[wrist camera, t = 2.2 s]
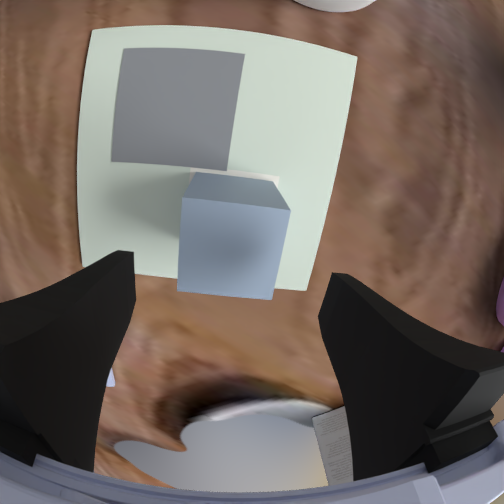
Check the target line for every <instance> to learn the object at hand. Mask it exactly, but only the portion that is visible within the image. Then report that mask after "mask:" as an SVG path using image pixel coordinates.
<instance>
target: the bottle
mask: <svg viewBox="0 0 504 504" xmlns="http://www.w3.org/2000/svg"><path fill="white" fill-rule="evenodd" d="M294 1H296V2H298V3H300V4H302V5H305V6H308V7H311V8H314V9H317V10H322V11H328V12H349V11H355V10H358V9H361V8H364V7H366V6H367V5H369V4H371V3H372V2H374V1H376V0H294Z"/></svg>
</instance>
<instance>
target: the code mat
mask: <svg viewBox="0 0 504 504" xmlns="http://www.w3.org/2000/svg"><path fill="white" fill-rule="evenodd" d="M356 63H357V57H356V56H353V55H349V54H346V53H343V52H340V51H336V50H333V49H329V48H326V47H322V46H318V45H315V44H311V43H306V42H302V41H298V40H293V39H289V38H284V37H279V36H273V35H268V34H262V33H256V32H249V31H242V30H234V29H224V28H214V27H200V26H175V25H153V26H128V27H115V28H104V29H96V30H92V35H91V40H90V44H89V50H88V55H87V61H86V67H85V73H84V80H83V88H82V96H81V105H80V116H79V130H78V151H77V200H78V221H79V235H80V246H81V256H82V265H83V267H87V266H89V265H91V264H93V263H94V262H96V261H98V260H100V259H101V258H103V257H105V256H107V255H108V254H110V253H112V252H114V251H117V250H123V251H131V252H134V270H135V274H143V275H151V276H160V277H168V278H178V255H179V237H180V222H181V208H182V197H183V195H184V193H185V191H186V190H187V188H188V186H189V184H190V182H191V180H192V178H193V177H194V175H195V173H196V172H202V173H212V174H221V175H229V176H237V177H245V178H252V179H260V180H267V181H273V182H274V184H275V186H276V187H277V189H278V190H279V192H280V194H281V195H282V197H283V198H284V200H285V202H286V203H287V205H288V206H289V208H290V210H291V213H290V218H289V223H288V227H287V232H286V237H285V242H284V246H283V251H282V255H281V260H280V265H279V269H278V274H277V278H276V282H275V287H274V288H279V289H291V290H304V291H306V289H307V286H308V282H309V279H310V275H311V271H312V268H313V264H314V260H315V257H316V253H317V249H318V245H319V241H320V238H321V234H322V230H323V226H324V222H325V218H326V214H327V209H328V205H329V201H330V197H331V193H332V188H333V184H334V179H335V175H336V170H337V166H338V161H339V156H340V152H341V147H342V142H343V137H344V132H345V127H346V121H347V116H348V111H349V105H350V100H351V94H352V88H353V82H354V76H355V69H356Z"/></svg>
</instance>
